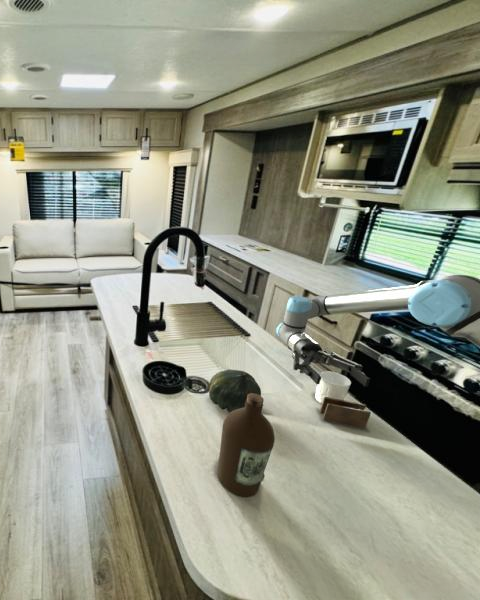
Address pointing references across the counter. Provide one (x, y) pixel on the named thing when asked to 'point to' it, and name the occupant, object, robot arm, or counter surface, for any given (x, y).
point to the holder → (345, 412)
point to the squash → (232, 389)
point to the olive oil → (245, 448)
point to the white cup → (332, 386)
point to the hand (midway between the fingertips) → (343, 381)
